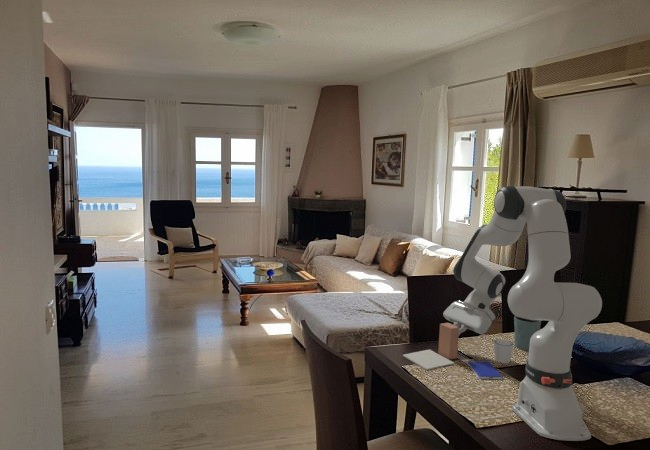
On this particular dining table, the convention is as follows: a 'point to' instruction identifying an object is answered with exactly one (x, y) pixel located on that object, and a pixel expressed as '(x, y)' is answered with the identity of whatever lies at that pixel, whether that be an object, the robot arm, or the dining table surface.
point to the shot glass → (503, 350)
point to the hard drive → (484, 370)
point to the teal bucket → (525, 331)
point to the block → (448, 340)
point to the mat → (428, 359)
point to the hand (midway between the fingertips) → (454, 334)
